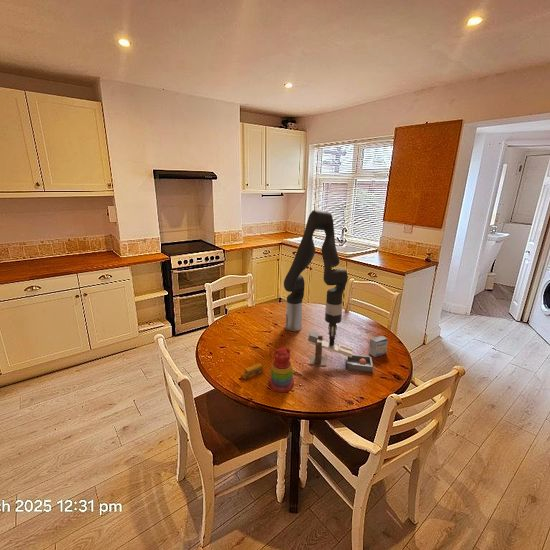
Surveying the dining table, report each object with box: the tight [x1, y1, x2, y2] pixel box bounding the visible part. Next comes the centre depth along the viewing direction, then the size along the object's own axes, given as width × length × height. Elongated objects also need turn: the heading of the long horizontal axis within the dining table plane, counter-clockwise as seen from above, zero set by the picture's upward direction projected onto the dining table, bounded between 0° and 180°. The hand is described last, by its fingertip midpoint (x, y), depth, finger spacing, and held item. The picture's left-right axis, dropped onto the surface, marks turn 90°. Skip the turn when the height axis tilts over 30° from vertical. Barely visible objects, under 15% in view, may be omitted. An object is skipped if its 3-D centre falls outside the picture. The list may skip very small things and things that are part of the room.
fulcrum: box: [309, 334, 328, 367], centre depth 144 cm, size 8×8×12 cm
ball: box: [359, 358, 366, 365], centre depth 141 cm, size 3×3×3 cm
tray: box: [344, 354, 374, 374], centre depth 142 cm, size 12×9×3 cm
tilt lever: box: [307, 330, 354, 358], centre depth 142 cm, size 22×6×4 cm, turn 78°
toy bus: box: [240, 362, 264, 380], centre depth 135 cm, size 3×10×4 cm, turn 125°
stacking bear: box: [268, 347, 295, 393], centre depth 126 cm, size 11×10×18 cm
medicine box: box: [368, 335, 388, 358], centre depth 151 cm, size 8×4×9 cm, turn 118°
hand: (331, 344), depth 142 cm, fingers closed
